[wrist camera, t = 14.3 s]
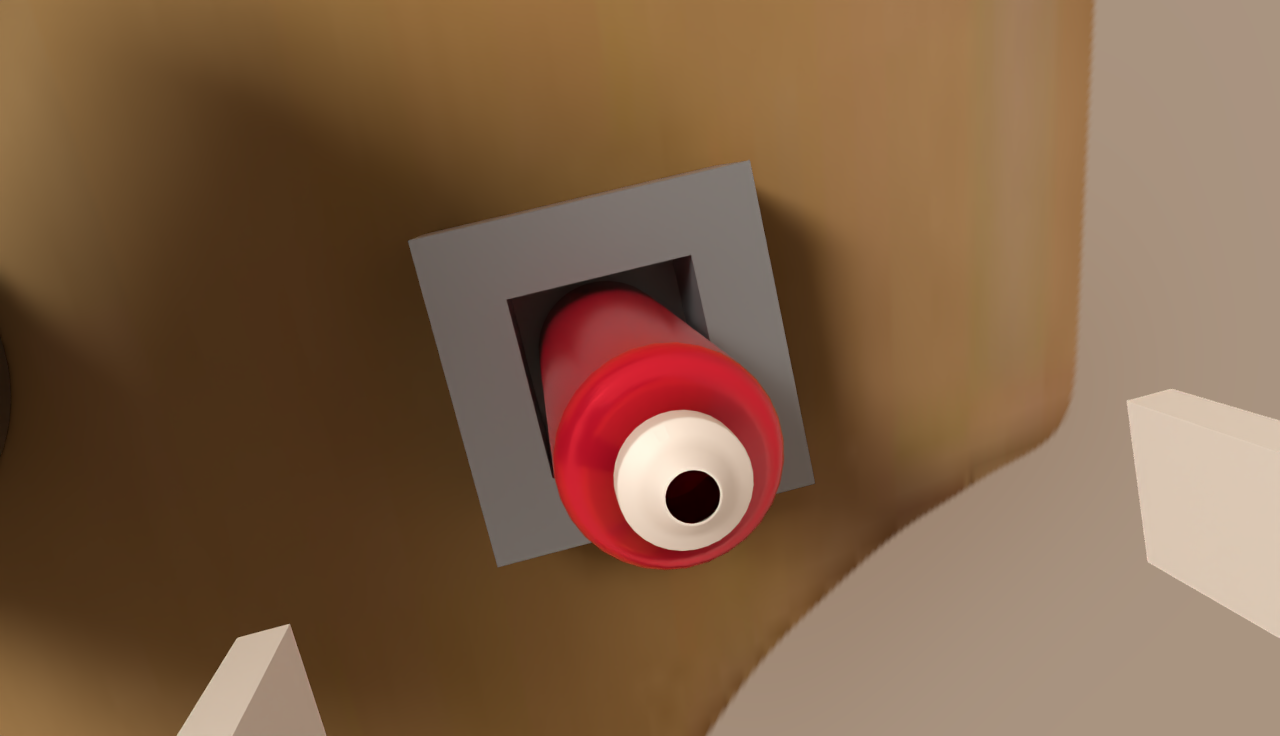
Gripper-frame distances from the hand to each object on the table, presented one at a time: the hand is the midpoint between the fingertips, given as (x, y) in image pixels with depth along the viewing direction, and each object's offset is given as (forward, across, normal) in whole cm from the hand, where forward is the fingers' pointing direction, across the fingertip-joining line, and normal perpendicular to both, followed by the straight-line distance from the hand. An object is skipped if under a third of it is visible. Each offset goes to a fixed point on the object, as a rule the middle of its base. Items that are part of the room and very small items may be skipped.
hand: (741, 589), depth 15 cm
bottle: (+25, 0, 0) cm, 25 cm away
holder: (+26, 0, 0) cm, 26 cm away
